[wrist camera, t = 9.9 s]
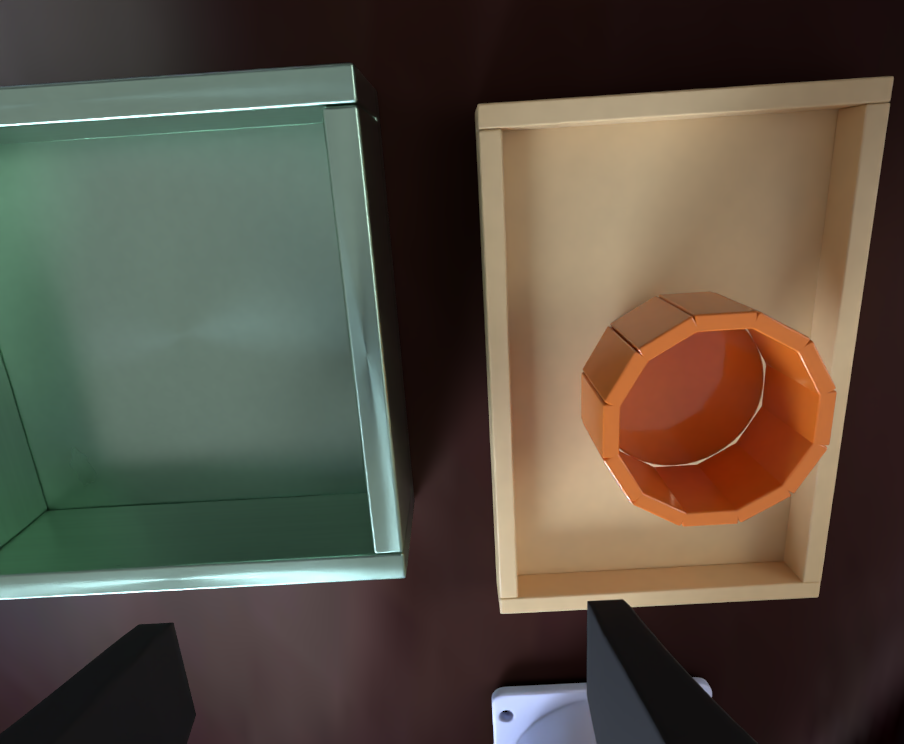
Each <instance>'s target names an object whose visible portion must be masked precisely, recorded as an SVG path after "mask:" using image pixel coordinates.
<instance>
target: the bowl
mask: <svg viewBox="0 0 904 744" xmlns="http://www.w3.org/2000/svg"><path fill="white" fill-rule="evenodd" d="M746 329H748V331H749V333H750V334H751V335H750V334H749V333H748V332H747V330H746ZM751 336H752V337H751ZM759 351H760V352H759ZM760 353H761V355H762V357H763V359H764V361H765V363H766V369H765V379H764V371H763V363H762V359H761V355H760ZM583 371H584V372H582V374H581V419H582V420H583V421H582V422H583V424H584V426H585V428H586V430H587V432H588V434H589V436H590V437H591V439H592V441H593V443H594V445H595V447H596V448H597V450H598V452H599V454H600V456H601V458H602V460H603V461H604V463H605V465H606V466H607V468H608V469H609V471H610V472H611V474H612V475H613V477H614V478H615V480H616V482H617V483H618V485H619V486H620V488H621V489H622V491H623V492H624V494H625V495H626V497H627V499H628V500H629V501H630V502H632V504H633V505H635V506H637V507H639V508H641V509H643V510H646V511H648V512H650V513H652V514H654V515H656V516H659V517H661V518H663V519H665V520H667V521H669V522H672V523H674V524H676V525H678V526H680V525H682V526H684V527H687V526H705V525H723V524H737V523H738V521H739V522H743V521H745V520H747V519H749V518H751V517H753V516H755V515H756V514H758V513H760V512H762V511H764V510H766V509H768V508H770V507H772V506H773V505H775V504H777V503H779V502H781V501H783V500H785V499H787V498H788V497H790V496H791V494H790V492H791V493H795V492H796V490H797V489H798V488H799V486H800V485H801V484H802V482H803V481H804V480H805V478H806V477H807V476H808V474H809V473H810V472H811V470H812V469H813V468H814V466H815V465H816V464H817V462H818V461H819V460H820V458H821V457H822V456H823V454H824V453H825V452H826V450H827V449H828V448H827V447H826V446H825V445H829V444H830V438H831V430H832V423H833V416H834V409H835V402H836V394H837V392H836V391H835V389H836V386H835V384H834V382H833V380H832V378H831V376H830V374H829V372H828V370H827V368H826V366H825V364H824V362H823V360H822V358H821V356H820V354H819V352H818V350H817V348H816V346H815V344H814V342H813V341H812V340H810V338H809V337H808V336H806V335H804V334H802V333H800V332H798V331H796V330H794V329H793V328H791V327H789V326H787V325H785V324H783V323H781V322H779V321H777V320H776V319H774V318H772V317H770V316H768V315H766V314H764V313H762V312H760V311H758V310H756V309H753V308H751V307H748V306H746V305H744V304H741V303H739V302H737V301H734V300H732V299H730V298H727V297H725V296H723V295H720V294H718V293H715V292H714V293H713V292H710V291H708V292H692V293H676V294H660V295H659V296H658V297H657V296H654V297H653V298H651V299H649V300H648V301H646V302H645V303H643V304H641V305H640V306H638V307H636V308H635V309H633V310H632V311H630V312H628V313H627V314H625V315H623V316H622V317H620V318H619V319H617V320H615V321H614V322H612V323H611V327H610V326H608V327H607V328H606V330H605V332H604V333H603V335H602V337H601V339H600V340H599V342H598V344H597V345H596V347H595V349H594V350H593V352H592V354H591V356H590V357H589V359H588V361H587V362H586V364H585V366H584V367H583ZM763 384H764V389H763ZM762 390H763V399H762V406H761V408H760V409H759V411H758V412H757V414H756V415H755V416H754V414H755V412H756V410H757V407H758V405H759V402H760V399H761V396H762ZM753 416H754V418H753ZM752 418H753V419H752ZM751 419H752V421H751ZM750 421H751V422H750ZM749 422H750V424H749ZM748 424H749V425H748ZM747 425H748V426H747ZM746 427H747V428H746ZM745 428H746V429H745ZM744 429H745V431H744V432H743V430H744ZM742 432H743V434H742V435H741V437H740V438H739V439H738V441H737V442H736V443H735V444H733V445H731V446H729V447H728V448H726V449H724V448H725V447H726V446H728V445H729V444H730V443H731V442H733V441H734V440H735V439H736V438H737V437H738V436H739V435H740V434H741V433H742ZM619 449H620V450H622V451H623V452H624V453H623V452H621V451H619ZM722 449H724V450H722ZM720 450H722V451H720ZM719 451H720V452H719ZM717 452H719V453H717ZM625 453H626V454H625ZM716 453H717V454H716ZM627 454H628V455H627ZM714 454H715V455H714ZM711 455H713V456H711ZM709 456H711V457H710V458H708V459H706V460H704V461H702V462H701V463H699V464H697V465H683V464H688V463H693V462H697V461H699V460H702V459H705V458H707V457H709ZM642 461H643V462H642ZM644 462H647V463H651V464H657V465H680V466H663V467H653V466H651V465H649V464H646V463H644Z"/></svg>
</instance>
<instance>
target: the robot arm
mask: <svg viewBox="0 0 904 744" xmlns="http://www.w3.org/2000/svg"><path fill="white" fill-rule="evenodd" d="M505 710H508V711H509V712H502V711H505ZM492 715H493V733H494V744H758V743H757V742H756V741H755V740H754V739H753V738H752V737H751V736H750V735H749V734H748V733H747V732H746V731H745V730H744V729H743V728H742V727H741V726H739V725H738V724H737V723H736V722H735V721H734V720H733V719H732V718H731V717H730V716H729V715H728V714H727V713H726V712H725V711H724V710H723V709H722V708H721V707H720V706H719V705H718V704H717V703H716V702H715V701H714V700H713V699H712V690H711V688H710V686H709V684H708V682H707V681H706V680H705V679H703V678H699V677H692V676H691V675H690V674H689V673H688V672H687V671H686V670H685V669H684V668H683V667H682V666H681V665H680V664H679V662H678V661H677V660H676V659H675V658H674V657H673V656H672V655H671V653H670V652H669V651H668V650H667V649H666V648H665V647H664V646H663V644H662V643H661V642H660V641H659V640H658V639H657V637H656V636H655V635H654V634H653V633H652V632H651V630H650V629H649V628H648V627H647V626H646V625H645V623H644V622H643V621H642V620H641V619H640V617H639V616H638V615H637V614H636V612H635V611H634V610H633V609H632V608H631V606H630V605H629V604H628V603H627V602H626V601H624V600H623V599H617V600H597V601H587V683H569V684H549V685H529V686H509V687H501V688H498V689H497V690H495V691H494V693H493V694H492ZM195 716H196V713H195V709H194V705H193V701H192V697H191V693H190V689H189V684H188V680H187V676H186V672H185V668H184V664H183V660H182V656H181V652H180V648H179V644H178V640H177V635H176V631H175V627H174V623H159V624H140V625H138V626H136V627H135V628H134V629H132V630H131V631H130V632H128V633H127V634H125V635H124V636H123V637H122V638H120V639H119V640H118V641H116V642H115V643H114V644H113V645H111V646H110V647H109V648H108V649H106V650H105V651H104V652H103V653H101V654H100V655H99V656H98V657H96V658H95V659H94V660H93V661H91V662H90V663H89V664H88V665H86V666H85V667H84V668H83V669H81V670H80V671H79V672H78V673H77V674H75V675H74V676H73V677H72V678H70V679H69V680H68V681H67V682H65V683H64V684H63V685H62V686H60V687H59V688H58V689H57V690H55V691H54V692H53V693H52V694H50V695H49V696H48V697H47V698H45V699H44V700H43V701H42V702H40V703H39V704H38V705H37V706H35V707H34V708H33V709H32V710H30V711H29V712H28V713H27V714H25V715H24V716H23V717H22V718H20V719H19V720H18V721H17V722H15V723H14V724H13V725H11V726H10V727H9V728H7V729H6V730H5V731H3V732H2V733H1V734H0V744H187V741H188V738H189V735H190V732H191V729H192V725H193V722H194V719H195Z"/></svg>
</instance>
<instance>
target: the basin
mask: <svg viewBox="0 0 904 744" xmlns="http://www.w3.org/2000/svg"><path fill="white" fill-rule="evenodd" d="M414 502H415V500H414V489H413V478H412V467H411V456H410V445H409V434H408V423H407V412H406V401H405V390H404V379H403V368H402V358H401V347H400V336H399V325H398V314H397V303H396V292H395V281H394V270H393V259H392V248H391V237H390V226H389V215H388V204H387V193H386V182H385V171H384V160H383V149H382V139H381V128H380V117H379V106H378V95H377V91H376V89H375V88H374V87H373V86H372V85H371V84H370V83H369V81H368V80H367V79H366V78H365V77H364V75H363V74H362V73H361V72H360V71H359V69H358V68H357V67H356V66H355V65H354V64H353V63H351V62H346V63H331V64H317V65H303V66H288V67H274V68H259V69H245V70H230V71H216V72H201V73H187V74H172V75H158V76H143V77H129V78H115V79H100V80H86V81H71V82H57V83H42V84H28V85H13V86H0V600H6V599H25V598H44V597H62V596H81V595H100V594H118V593H137V592H156V591H175V590H193V589H212V588H231V587H250V586H268V585H287V584H306V583H324V582H343V581H362V580H381V579H399V578H405V577H406V571H407V563H408V554H409V545H410V537H411V528H412V519H413V511H414V510H413V509H414Z"/></svg>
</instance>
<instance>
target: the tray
mask: <svg viewBox="0 0 904 744" xmlns="http://www.w3.org/2000/svg"><path fill="white" fill-rule="evenodd" d="M893 80H894V77H893V76H881V77H867V78H852V79H837V80H822V81H807V82H793V83H778V84H763V85H748V86H733V87H719V88H704V89H689V90H674V91H660V92H645V93H630V94H615V95H600V96H586V97H571V98H556V99H541V100H526V101H512V102H497V103H482V104H478V105H477V108H476V111H475V129H476V150H477V172H478V193H479V214H480V236H481V257H482V278H483V300H484V321H485V342H486V363H487V385H488V406H489V427H490V449H491V470H492V491H493V513H494V534H495V555H496V577H497V588H498V597H499V606H500V612H501V614H509V613H528V612H547V611H566V610H585V609H587V601H597V600H617V599H623V600H624V601H626V602H627V603H628V604H629V605H630V606H631V607H643V606H662V605H681V604H700V603H719V602H739V601H758V600H777V599H796V598H815V597H818V596H819V590H820V581H821V577H822V570H823V563H824V556H825V549H826V542H827V535H828V529H829V522H830V515H831V508H832V501H833V494H834V487H835V480H836V474H837V467H838V460H839V453H840V446H841V439H842V432H843V425H844V419H845V412H846V405H847V398H848V391H849V384H850V377H851V370H852V364H853V357H854V350H855V343H856V336H857V329H858V322H859V315H860V309H861V302H862V295H863V288H864V281H865V274H866V267H867V260H868V253H869V247H870V240H871V233H872V226H873V219H874V212H875V205H876V198H877V192H878V185H879V178H880V171H881V164H882V157H883V150H884V143H885V137H886V130H887V123H888V116H889V109H890V103H888V102H889V101H890V100H891V94H892V87H893ZM708 291H710V292H713V293H714V292H715V293H718V294H720V295H723V296H725V297H727V298H730V299H732V300H734V301H737V302H739V303H741V304H744V305H746V306H748V307H751V308H753V309H756V310H758V311H760V312H762V313H764V314H766V315H768V316H770V317H772V318H774V319H776V320H777V321H779V322H781V323H783V324H785V325H787V326H789V327H791V328H793V329H794V330H796V331H798V332H800V333H802V334H804V335H806V336H808V337H809V338H810V340H812V341H813V342H814V344H815V346H816V348H817V350H818V352H819V354H820V356H821V358H822V360H823V362H824V364H825V366H826V368H827V370H828V372H829V374H830V376H831V378H832V380H833V382H834V384H835V386H836V389H835V391H836V392H837V394H836V402H835V409H834V416H833V423H832V430H831V438H830V444H829V445H825V446H826V447H827V448H828V449H827V450H826V452H825V453H824V454H823V456H822V457H821V458H820V460H819V461H818V462H817V464H816V465H815V466H814V468H813V469H812V470H811V472H810V473H809V474H808V476H807V477H806V478H805V480H804V481H803V482H802V484H801V485H800V486H799V488H798V489H797V490H796V492H795V493H791V492H790V494H791V496H790V497H788V498H787V499H785V500H783V501H781V502H779V503H777V504H775V505H773V506H772V507H770V508H768V509H766V510H764V511H762V512H760V513H758V514H756V515H755V516H753V517H751V518H749V519H747V520H745V521H743V522H739V521H738V523H737V524H723V525H705V526H687V527H684V526H682V525H680V526H678V525H676V524H674V523H672V522H669V521H667V520H665V519H663V518H661V517H659V516H656V515H654V514H652V513H650V512H648V511H646V510H643V509H641V508H639V507H637V506H635V505H633V504H632V502H630V501H629V500H628V499H627V497H626V495H625V494H624V492H623V491H622V489H621V488H620V486H619V485H618V483H617V482H616V480H615V478H614V477H613V475H612V474H611V472H610V471H609V469H608V468H607V466H606V465H605V463H604V461H603V460H602V458H601V456H600V454H599V452H598V450H597V448H596V447H595V445H594V443H593V441H592V439H591V437H590V436H589V434H588V432H587V430H586V428H585V426H584V424H583V422H582V421H583V420H582V419H581V374H582V372H584V371H583V367H584V366H585V364H586V362H587V361H588V359H589V357H590V356H591V354H592V352H593V350H594V349H595V347H596V345H597V344H598V342H599V340H600V339H601V337H602V335H603V333H604V332H605V330H606V328H607V327H608V326H610V327H611V323H612V322H614V321H615V320H617V319H619V318H620V317H622V316H623V315H625V314H627V313H628V312H630V311H632V310H633V309H635V308H636V307H638V306H640V305H641V304H643V303H645V302H646V301H648V300H649V299H651V298H653V297H654V296H657V297H658V296H659V295H660V294H676V293H692V292H708ZM746 330H747V332H748V333H749V331H748V329H746ZM749 334H750V333H749ZM750 335H751V334H750ZM751 337H752V336H751ZM759 352H760V351H759ZM760 355H761V353H760ZM761 359H762V363H763V371H764V379H765V369H766V363H765V361H764V359H763V357H762V355H761ZM763 389H764V384H763ZM762 399H763V390H762V396H761V399H760V402H759V405H758V407H757V410H756V412H755V414H754V416H755V415H756V414H757V412H758V411H759V409H760V408H761V406H762ZM754 416H753V418H754ZM753 418H752V419H753ZM752 419H751V421H752ZM751 421H750V422H751ZM750 422H749V424H750ZM749 424H748V425H749ZM748 425H747V426H748ZM746 428H747V427H746ZM746 428H745V429H746ZM745 429H744V430H743V432H744V431H745ZM743 432H742V433H741V434H740V435H739V436H738V437H737V438H736V439H735V440H734V441H733V442H731V443H730V444H729V445H728V446H726V447H725V448H724V449H726V448H728V447H729V446H731V445H733V444H735V443H736V442H737V441H738V439H739V438H740V437H741V435H742V434H743ZM724 449H722V450H724ZM722 450H720V451H722ZM619 451H621V452H623V451H622V450H620V449H619ZM720 451H719V452H720ZM719 452H717V453H719ZM623 453H624V452H623ZM717 453H716V454H717ZM625 454H626V453H625ZM627 455H628V454H627ZM714 455H715V454H714ZM711 456H713V455H711ZM711 456H709V457H707V458H705V459H702V460H699V461H697V462H693V463H688V464H683V465H697V464H699V463H701V462H702V461H704V460H706V459H708V458H710V457H711ZM642 462H643V461H642ZM644 463H646V464H649V465H651V466H653V467H663V466H680V465H657V464H651V463H647V462H644Z"/></svg>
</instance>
